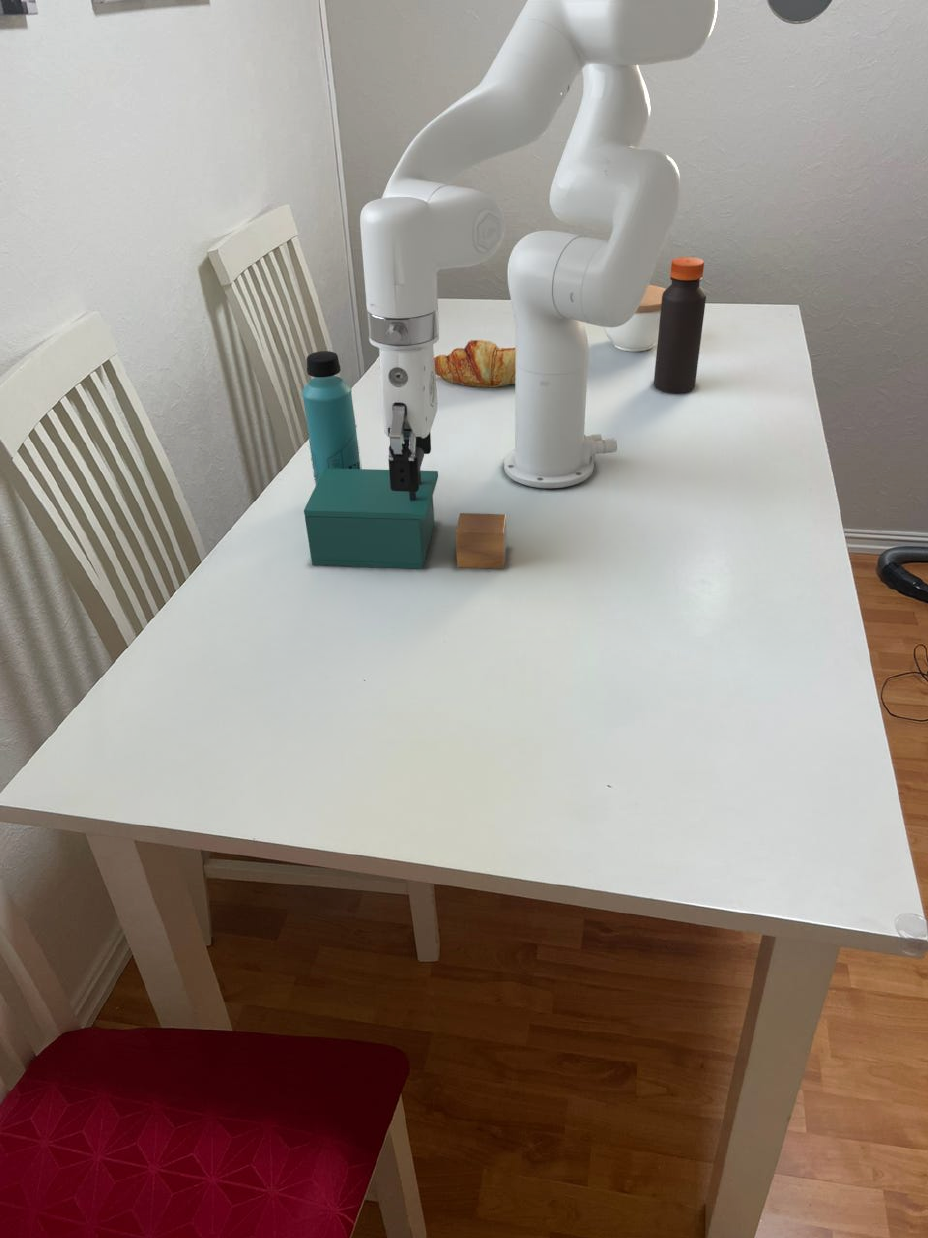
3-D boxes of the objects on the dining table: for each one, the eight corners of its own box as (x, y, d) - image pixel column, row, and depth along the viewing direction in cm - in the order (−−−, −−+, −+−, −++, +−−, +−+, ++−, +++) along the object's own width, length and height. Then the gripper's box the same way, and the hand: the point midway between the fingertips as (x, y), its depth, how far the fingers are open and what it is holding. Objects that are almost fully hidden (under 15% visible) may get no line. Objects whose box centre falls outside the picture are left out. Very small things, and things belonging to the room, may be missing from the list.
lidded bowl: (592, 335, 172) (595, 275, 166) (657, 330, 173) (663, 270, 167) (607, 359, 162) (611, 296, 156) (677, 354, 163) (684, 291, 156)
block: (506, 549, 113) (506, 514, 110) (503, 569, 109) (503, 533, 106) (461, 547, 113) (459, 512, 110) (457, 567, 110) (455, 531, 107)
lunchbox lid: (438, 476, 114) (436, 436, 111) (426, 519, 105) (423, 477, 102) (325, 473, 115) (319, 434, 112) (304, 516, 107) (298, 474, 104)
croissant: (548, 393, 159) (551, 346, 158) (547, 387, 149) (550, 337, 148) (428, 388, 161) (430, 341, 160) (419, 382, 152) (421, 332, 150)
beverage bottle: (357, 511, 121) (340, 365, 109) (309, 508, 122) (287, 363, 110) (370, 488, 126) (356, 346, 114) (325, 485, 127) (305, 344, 116)
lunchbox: (434, 523, 118) (431, 476, 114) (422, 569, 110) (419, 519, 106) (331, 520, 119) (325, 474, 115) (312, 565, 111) (304, 516, 107)
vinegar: (645, 387, 152) (656, 262, 140) (666, 375, 156) (679, 252, 144) (681, 397, 148) (696, 270, 136) (702, 384, 152) (718, 259, 140)
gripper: (426, 354, 90) (433, 507, 100) (448, 301, 104) (452, 440, 114) (352, 352, 91) (366, 505, 101) (383, 300, 105) (392, 438, 115)
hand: (411, 470), depth 107 cm, fingers open, 9 cm apart
